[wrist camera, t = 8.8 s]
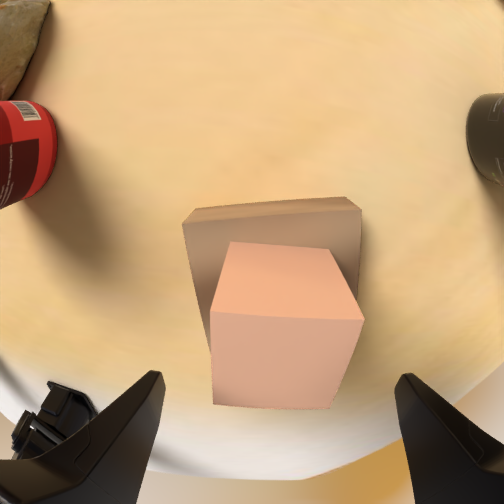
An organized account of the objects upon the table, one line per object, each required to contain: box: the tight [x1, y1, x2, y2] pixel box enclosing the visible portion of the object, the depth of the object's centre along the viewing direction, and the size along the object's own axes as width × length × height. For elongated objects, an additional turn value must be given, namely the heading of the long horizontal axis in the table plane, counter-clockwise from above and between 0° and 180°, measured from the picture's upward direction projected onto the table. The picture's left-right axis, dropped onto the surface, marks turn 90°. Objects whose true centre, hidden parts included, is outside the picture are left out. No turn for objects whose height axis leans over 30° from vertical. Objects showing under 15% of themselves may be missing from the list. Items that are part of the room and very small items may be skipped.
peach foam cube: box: [210, 241, 365, 409], centre depth 12 cm, size 5×5×6 cm
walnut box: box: [182, 197, 362, 353], centre depth 17 cm, size 9×9×4 cm
